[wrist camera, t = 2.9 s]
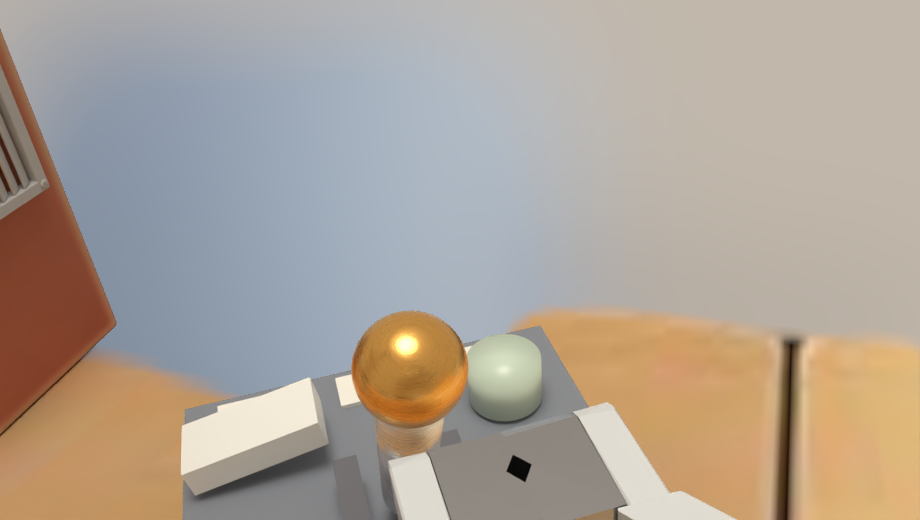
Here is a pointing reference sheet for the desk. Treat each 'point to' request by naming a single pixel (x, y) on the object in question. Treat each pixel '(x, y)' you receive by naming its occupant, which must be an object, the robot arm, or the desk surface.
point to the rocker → (252, 436)
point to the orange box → (39, 262)
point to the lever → (408, 384)
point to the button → (504, 377)
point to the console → (356, 452)
